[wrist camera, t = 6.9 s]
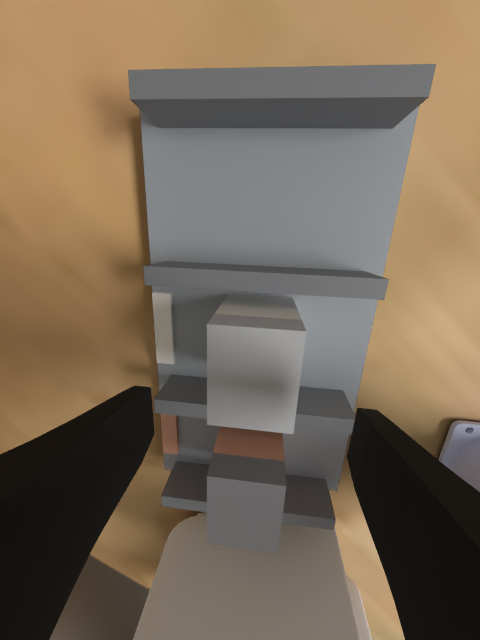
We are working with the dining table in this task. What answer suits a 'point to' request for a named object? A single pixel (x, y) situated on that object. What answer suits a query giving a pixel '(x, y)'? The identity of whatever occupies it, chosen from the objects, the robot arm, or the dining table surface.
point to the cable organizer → (252, 589)
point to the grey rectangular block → (254, 363)
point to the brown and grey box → (246, 489)
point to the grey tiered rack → (271, 241)
